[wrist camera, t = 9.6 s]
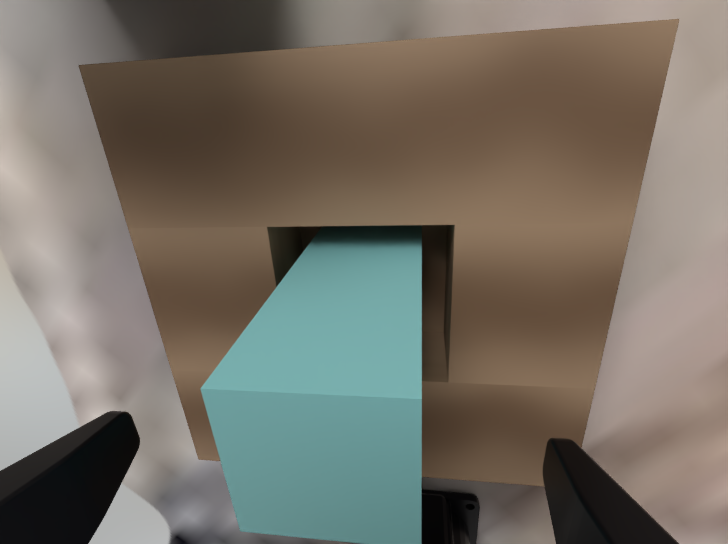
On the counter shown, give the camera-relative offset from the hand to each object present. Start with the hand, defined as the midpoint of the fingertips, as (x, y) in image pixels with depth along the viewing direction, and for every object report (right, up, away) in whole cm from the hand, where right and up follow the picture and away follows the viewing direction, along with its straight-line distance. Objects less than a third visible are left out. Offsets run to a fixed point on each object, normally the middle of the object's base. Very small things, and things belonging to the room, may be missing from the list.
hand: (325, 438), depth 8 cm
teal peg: (+1, +4, +8) cm, 9 cm away
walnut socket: (+1, +4, +9) cm, 10 cm away
